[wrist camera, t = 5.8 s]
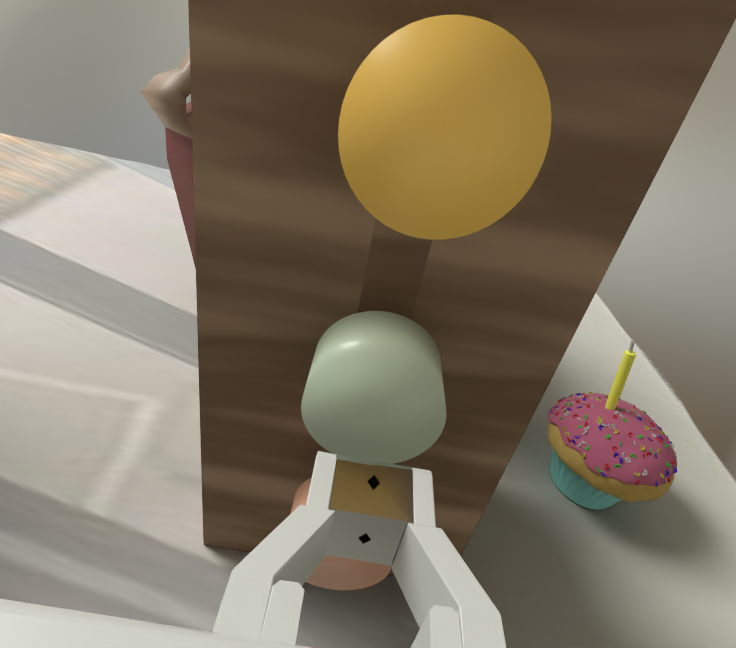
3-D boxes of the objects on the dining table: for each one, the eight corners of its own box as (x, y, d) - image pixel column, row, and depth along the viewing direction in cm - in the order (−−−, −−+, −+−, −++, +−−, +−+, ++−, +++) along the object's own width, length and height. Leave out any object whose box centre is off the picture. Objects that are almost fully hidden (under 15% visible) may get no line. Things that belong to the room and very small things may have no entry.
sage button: (426, 474, 15) (464, 372, 13) (294, 452, 15) (309, 343, 13) (420, 360, 20) (446, 273, 18) (323, 342, 20) (337, 252, 18)
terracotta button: (380, 597, 19) (402, 537, 17) (277, 580, 19) (286, 517, 17) (385, 476, 25) (402, 418, 22) (304, 462, 25) (313, 402, 22)
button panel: (446, 584, 26) (802, -112, 10) (203, 544, 26) (181, -258, 10) (436, 461, 34) (633, -50, 18) (249, 428, 33) (278, -130, 17)
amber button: (508, 255, 11) (588, 41, 9) (325, 220, 11) (356, -9, 8) (474, 183, 16) (517, 38, 14) (351, 158, 16) (374, 7, 14)
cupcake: (504, 467, 35) (570, 339, 28) (561, 425, 40) (626, 309, 34) (611, 559, 30) (719, 428, 23) (659, 498, 35) (759, 377, 28)
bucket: (149, 399, 34) (105, -10, 21) (179, 263, 52) (165, -6, 38) (448, 391, 41) (559, 82, 28) (385, 274, 59) (434, 50, 45)
